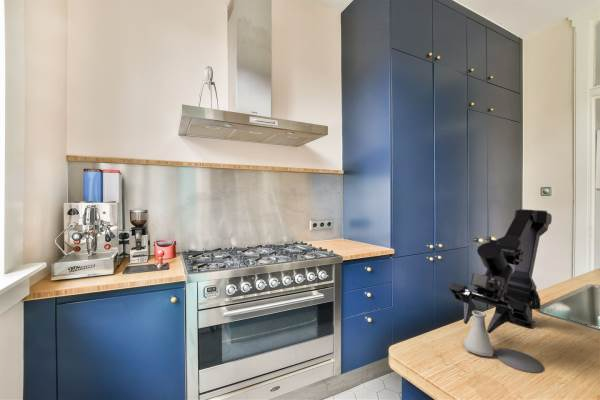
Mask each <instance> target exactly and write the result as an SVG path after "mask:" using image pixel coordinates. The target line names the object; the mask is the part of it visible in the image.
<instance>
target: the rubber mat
mask: <svg viewBox="0 0 600 400" xmlns="http://www.w3.org/2000/svg"><path fill="white" fill-rule="evenodd" d="M494 355H495V357H496V359H497V360H499V361H500V363H502V364H504V365H506V366H508V367H510V368H512V369H514V370H517V371H521V372H525V373H531V374H538V373H542V372H543V371H544V366H543V364H542V363H541V361H539V360H538V359H536V358H535V357H533V356H532V355H529V354H527V353H524V352H522V351H520V350H516V349H510V348H499V349H496V350H495V351H494Z"/></svg>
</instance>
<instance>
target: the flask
mask: <svg viewBox="0 0 600 400" xmlns="http://www.w3.org/2000/svg"><path fill="white" fill-rule="evenodd" d="M486 317H487V314H486V313H485V312H483V311H481V310H475V309H474V310H473V311H472V320H471V321H472V322H471V326H470V327H469V330H468V333H467V334H466V336H465V339H464V341H463V342H462V346H463V347H464V349H465V350H466V351H467V352H469V353H472V354H474V355H477V356H480V357H481V356H482V357H493V355H495V351H494V348H493V344H492V343H491V340H490V337H489V333H488V332H487V327H486V323H485V318H486Z"/></svg>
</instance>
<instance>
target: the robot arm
mask: <svg viewBox="0 0 600 400" xmlns="http://www.w3.org/2000/svg"><path fill="white" fill-rule="evenodd" d="M513 217H514V218H513V219H512V221H511V223H510V225H509V227H508V228H507V231H506V233H505V234H504V236H502V237H500V238H497V239H490V240H489V241H488V242H485V243H482V244H480V245H479V246H478V247H477V249H476V251H477V254H478V256H479V259H480V260H481V262H482V265H483V266H484V268H486V271H485V273H484V274H478V273H475V272H474V273H472V276H471V278H470V285H471V286H474V287H473V289H474V291H476V292H474V291H471V290H469V289H468V286H467V285H465V284H462V283H457V282H452V283H451V284H450V285H449V287H448V290H449V291H450V293H451V295H452V296H453V298H454V299H455V300H457V301H460V302H462V303H463V323H464V324H465V325H467V324H468V323H469V321H470V320H471V317H472V316H473V314H472V311H473V310H474V311H475V308H476V305H475V304H474V301H478V302H480V303H484V304H486V305H490V306H494V307H495V310H494V313H493V316H492V317H491V320H490V321H489V323H488V326H487V328H486V330H487V333H488V334H491V333H493V332H494V331H495V330H496V329H498V328H499V327H500V326H502V325H504V324H507V323H508V322H509V323H512V324H515V325H519V326H522V327H525V328H528V329H532V328H533V327H534V325H535V324H536V321H535V320H533V310H534V311H535V310H541V298H540V296H539V293H538V291H537V284H536V283H535V281H534V279H533V272H534V269H535V268H534V267H535V263H536V257H537V252H538V247H539V242H540V237H542V235H544V234H545V233H546V232H548V230H549V226H550V225H551V224H552V221H553V219H552V218H553V217H552V214H551V213H548V211H547V210H543V209H542V210H540V209H525V208H523V209H522V208H521V209H520V208H519V209H516V210H515V212H514V216H513ZM511 265H514V270H513V268H512V266H511Z"/></svg>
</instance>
